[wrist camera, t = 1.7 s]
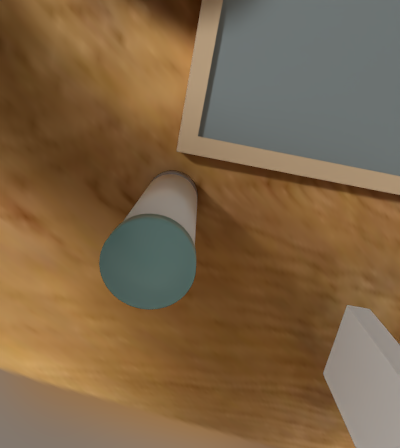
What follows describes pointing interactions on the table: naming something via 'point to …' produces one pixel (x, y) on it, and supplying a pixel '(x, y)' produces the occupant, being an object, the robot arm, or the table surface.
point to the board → (298, 88)
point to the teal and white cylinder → (154, 245)
